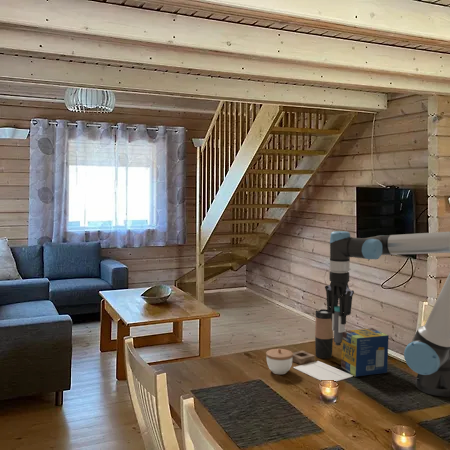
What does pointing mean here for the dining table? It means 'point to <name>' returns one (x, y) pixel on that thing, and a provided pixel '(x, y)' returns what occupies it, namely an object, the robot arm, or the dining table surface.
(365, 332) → the protein box
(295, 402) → the dining table surface
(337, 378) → the paper
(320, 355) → the travel mug
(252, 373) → the dining table surface
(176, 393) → the dining table surface
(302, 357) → the pen holder
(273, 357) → the lidded jar
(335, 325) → the marker
